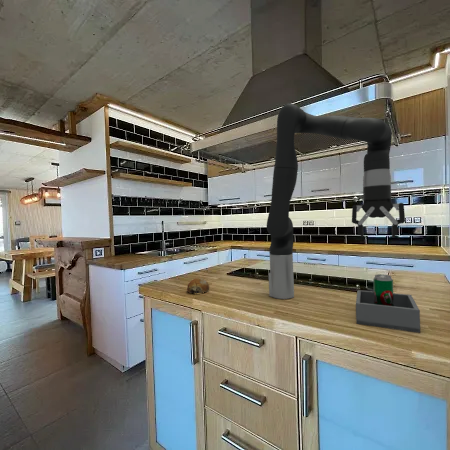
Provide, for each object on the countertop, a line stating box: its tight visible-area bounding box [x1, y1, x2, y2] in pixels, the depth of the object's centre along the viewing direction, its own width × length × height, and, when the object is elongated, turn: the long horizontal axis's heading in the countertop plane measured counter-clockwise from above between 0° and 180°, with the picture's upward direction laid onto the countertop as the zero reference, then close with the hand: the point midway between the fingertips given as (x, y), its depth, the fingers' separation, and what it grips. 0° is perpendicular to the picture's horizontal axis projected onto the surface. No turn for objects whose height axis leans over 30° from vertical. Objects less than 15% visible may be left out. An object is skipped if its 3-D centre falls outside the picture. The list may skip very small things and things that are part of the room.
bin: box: [355, 289, 421, 334], centre depth 78 cm, size 15×15×6 cm
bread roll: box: [186, 277, 210, 294], centre depth 116 cm, size 10×10×8 cm
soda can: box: [373, 273, 394, 306], centre depth 78 cm, size 5×5×12 cm
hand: (377, 237), depth 81 cm, fingers open, 8 cm apart
